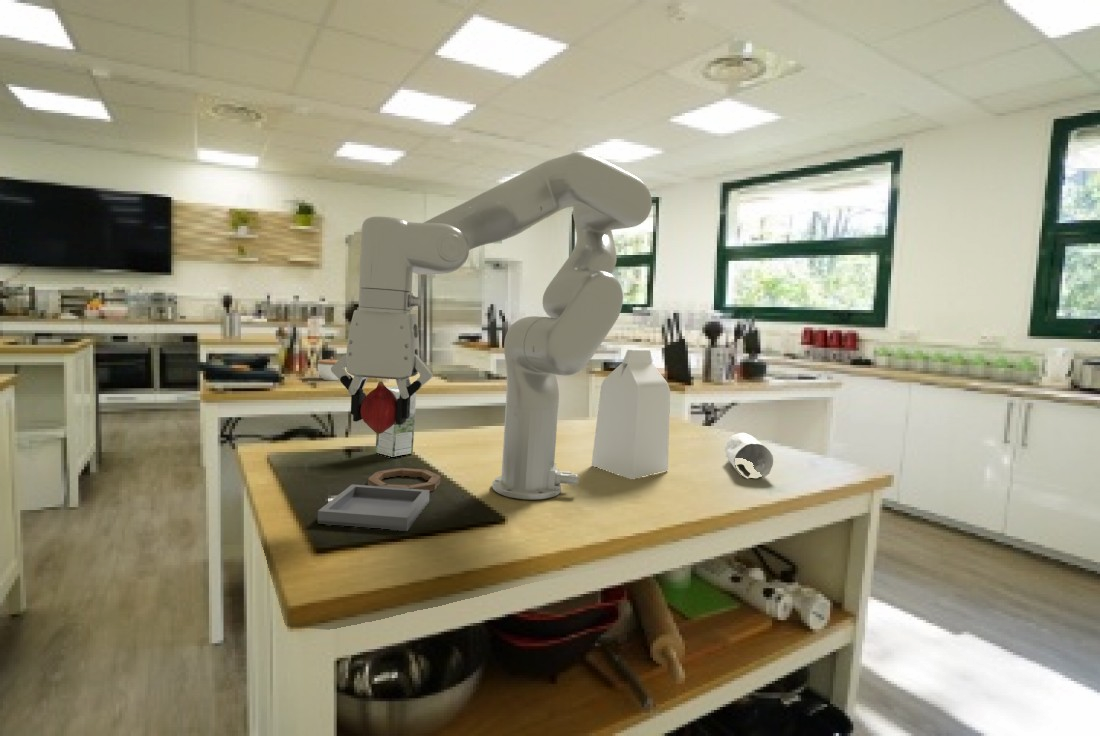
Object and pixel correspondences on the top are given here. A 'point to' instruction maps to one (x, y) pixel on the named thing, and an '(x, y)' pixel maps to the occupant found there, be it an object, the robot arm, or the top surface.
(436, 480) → the ring
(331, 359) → the lidded jar
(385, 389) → the onion
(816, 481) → the top surface
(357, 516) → the dish
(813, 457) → the top surface
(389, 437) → the syrup box
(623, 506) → the top surface
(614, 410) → the milk
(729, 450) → the tipped white cup
